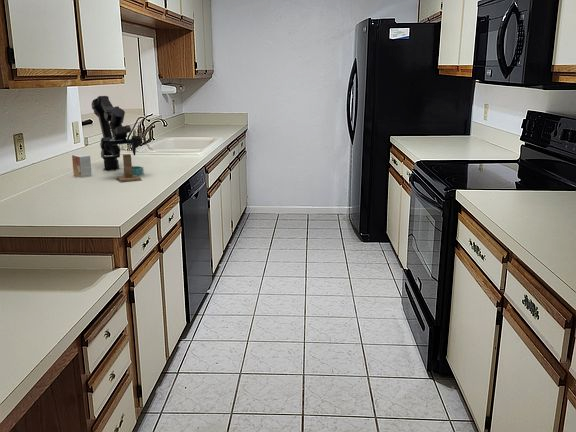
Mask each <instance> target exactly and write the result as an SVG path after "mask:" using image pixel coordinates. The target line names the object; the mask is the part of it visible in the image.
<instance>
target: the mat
mask: <svg viewBox="0 0 576 432" xmlns="http://www.w3.org/2000/svg"><path fill="white" fill-rule="evenodd" d="M115 180H116V181H117V182H119V183H120V184H121V183H122V184H123V183H125V182H120V181H119V180H117V179H116V178H115ZM141 181H143V179H141V180H140V181H139V182H141ZM133 182H135V181H130V182H129V183H133Z"/></svg>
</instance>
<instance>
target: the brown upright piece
mask: <svg viewBox="0 0 576 432" xmlns="http://www.w3.org/2000/svg"><path fill="white" fill-rule="evenodd" d="M122 159H123V160H122V161H123V175H120V176H118V175H117V176H115V180H116V179H117V180H119V181H120V182H124V183H131V182H130V181H134V182H141V181H140V180H142V177H141V176H140V175H132V166H133V165H132V164H133V163H132V155H131V153H126V154H122ZM117 180H116V181H117ZM119 181H118V182H119ZM120 182H119V183H120Z"/></svg>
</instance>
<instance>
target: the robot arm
mask: <svg viewBox="0 0 576 432" xmlns="http://www.w3.org/2000/svg"><path fill="white" fill-rule="evenodd" d="M91 110H92V111H93V113H94V114H95V116H96V117H98V121H99V125H100V128H101V129H100V130H101V135H102V137H101V139H100V143H99V145H100V149H101V150H100V157H101V159H103V165H104V167H103V171H117V170H118V169H120V163H119V158H121V147H120V146H119V145H130V146H131V151H132V153H133V156H134V157H136V152H137V151H136V150H137V148H139V147H140V146H141V144H142V136H141V135H132V136H131V138H130V139H129V138H128V134H129V133H131V131H132V128H131V125H130V124H129V125H128V124H126V125H123V123H124V118H125V114H126V112H125V110H124V109H123V108H120V106H119V105H118V106H113V104H112V102H111V100H110V99H109V96H107V95H99V96H97V98H95V99H93V100H92V101H91Z"/></svg>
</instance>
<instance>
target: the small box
mask: <svg viewBox="0 0 576 432" xmlns="http://www.w3.org/2000/svg"><path fill="white" fill-rule="evenodd" d="M71 159H72V160H71V161H72V169H73V171H72V172H73V176H74V177H77V178H87V177H92V176H93V175H92V174H93V173H92V163H91V155H87V154H84V153H82V154H81V153H80V154H72V155H71Z"/></svg>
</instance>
